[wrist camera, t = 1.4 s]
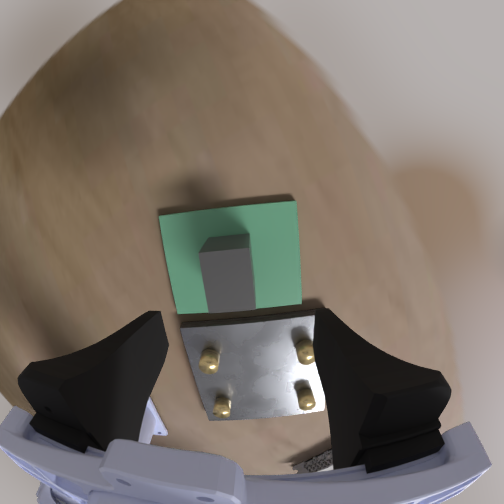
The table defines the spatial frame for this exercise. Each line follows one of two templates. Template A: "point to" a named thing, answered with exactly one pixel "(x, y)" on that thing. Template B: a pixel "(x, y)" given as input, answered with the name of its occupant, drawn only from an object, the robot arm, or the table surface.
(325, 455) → the graphics card
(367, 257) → the table surface
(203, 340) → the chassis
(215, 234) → the board
